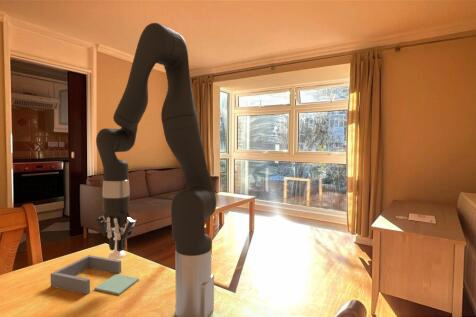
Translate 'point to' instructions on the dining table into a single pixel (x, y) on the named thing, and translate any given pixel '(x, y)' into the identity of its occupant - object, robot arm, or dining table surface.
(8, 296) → the dining table surface
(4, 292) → the dining table surface
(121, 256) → the chess piece
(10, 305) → the dining table surface
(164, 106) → the robot arm
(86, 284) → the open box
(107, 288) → the mat
